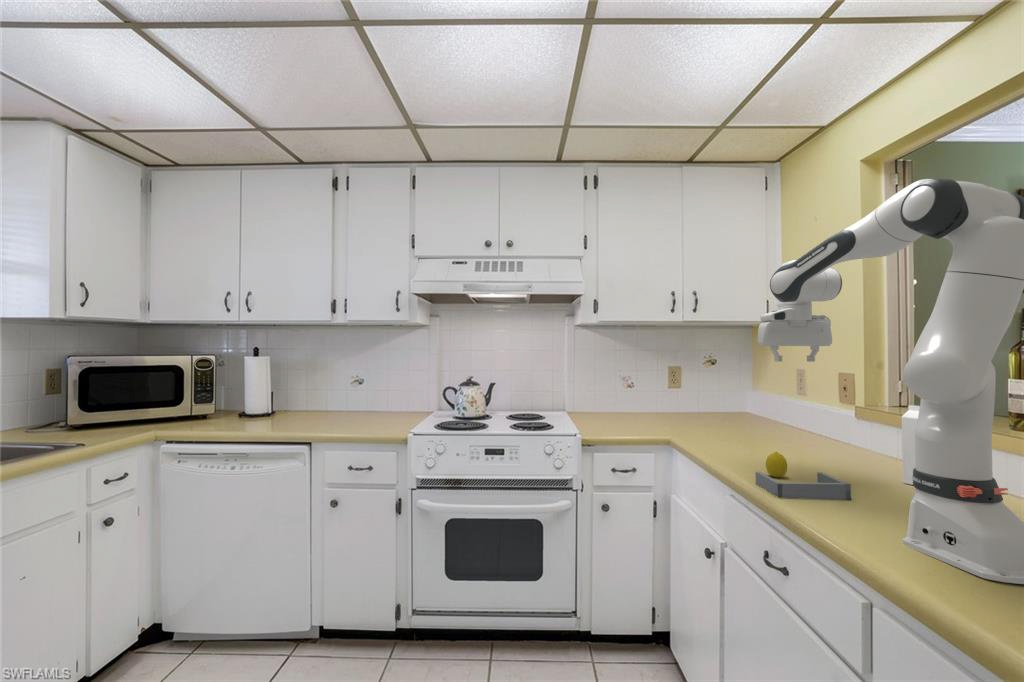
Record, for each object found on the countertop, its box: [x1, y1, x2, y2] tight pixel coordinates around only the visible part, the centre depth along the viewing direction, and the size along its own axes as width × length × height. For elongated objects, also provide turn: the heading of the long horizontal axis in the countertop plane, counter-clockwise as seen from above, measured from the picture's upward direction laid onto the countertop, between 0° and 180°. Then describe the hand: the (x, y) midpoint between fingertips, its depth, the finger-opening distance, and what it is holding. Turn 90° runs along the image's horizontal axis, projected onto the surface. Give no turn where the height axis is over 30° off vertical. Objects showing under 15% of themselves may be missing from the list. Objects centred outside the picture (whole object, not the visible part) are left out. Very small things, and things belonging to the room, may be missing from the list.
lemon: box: [765, 451, 788, 479], centre depth 139 cm, size 6×6×8 cm
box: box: [755, 471, 852, 501], centre depth 126 cm, size 12×18×4 cm, turn 87°
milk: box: [901, 404, 920, 486], centre depth 133 cm, size 6×6×22 cm
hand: (794, 361), depth 141 cm, fingers open, 8 cm apart
